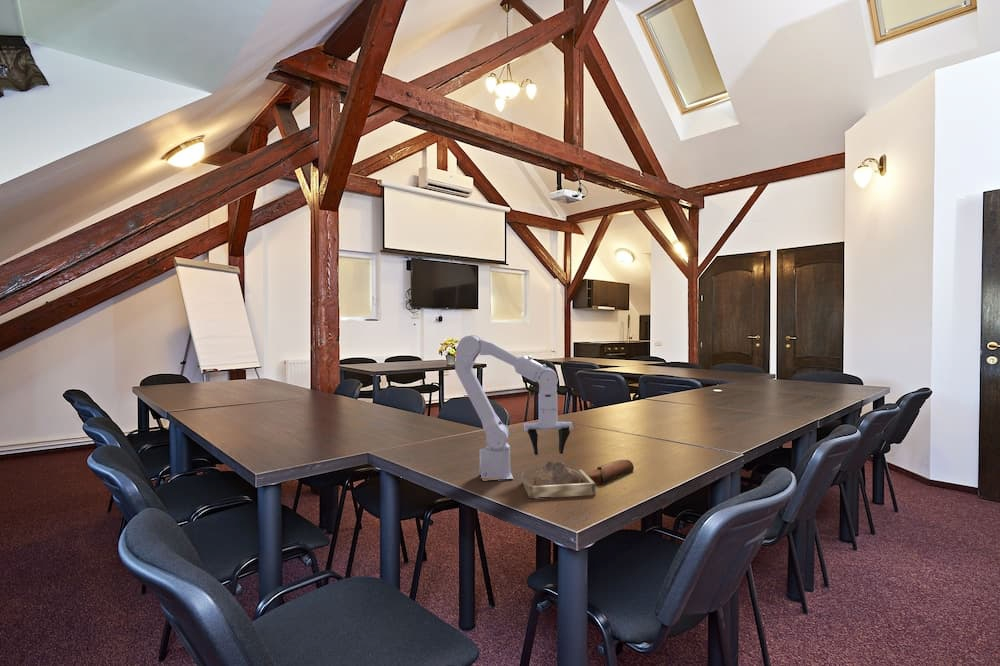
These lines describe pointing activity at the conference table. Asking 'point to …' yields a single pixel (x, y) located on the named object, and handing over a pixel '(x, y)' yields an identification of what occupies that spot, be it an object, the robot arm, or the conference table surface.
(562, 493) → the box
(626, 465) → the sunglasses case
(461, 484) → the conference table surface
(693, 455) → the conference table surface
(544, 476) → the rock
